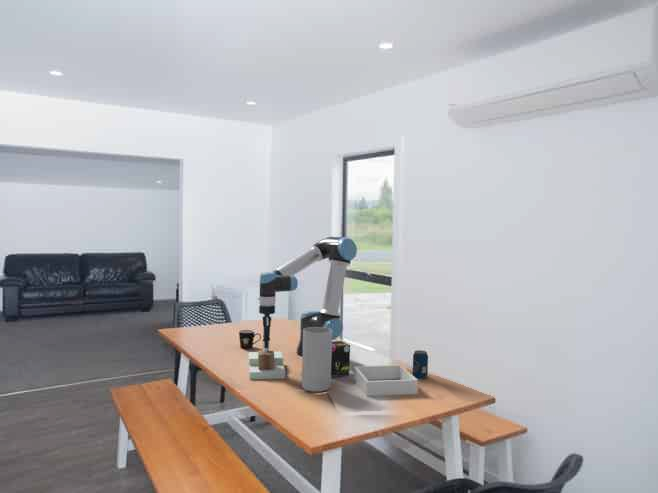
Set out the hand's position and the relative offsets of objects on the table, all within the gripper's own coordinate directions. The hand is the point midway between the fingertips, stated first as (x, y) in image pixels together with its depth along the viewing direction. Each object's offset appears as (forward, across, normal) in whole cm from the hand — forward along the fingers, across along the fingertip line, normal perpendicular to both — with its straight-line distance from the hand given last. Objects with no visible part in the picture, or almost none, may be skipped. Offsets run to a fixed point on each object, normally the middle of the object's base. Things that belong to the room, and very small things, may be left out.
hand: (265, 354), depth 229 cm
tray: (+8, +28, +50) cm, 58 cm away
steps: (+8, +1, 0) cm, 8 cm away
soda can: (+8, +16, +71) cm, 74 cm away
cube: (+1, +2, 0) cm, 2 cm away
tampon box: (+8, +8, +32) cm, 34 cm away
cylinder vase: (+8, +26, +20) cm, 34 cm away
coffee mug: (+8, -42, -7) cm, 43 cm away
